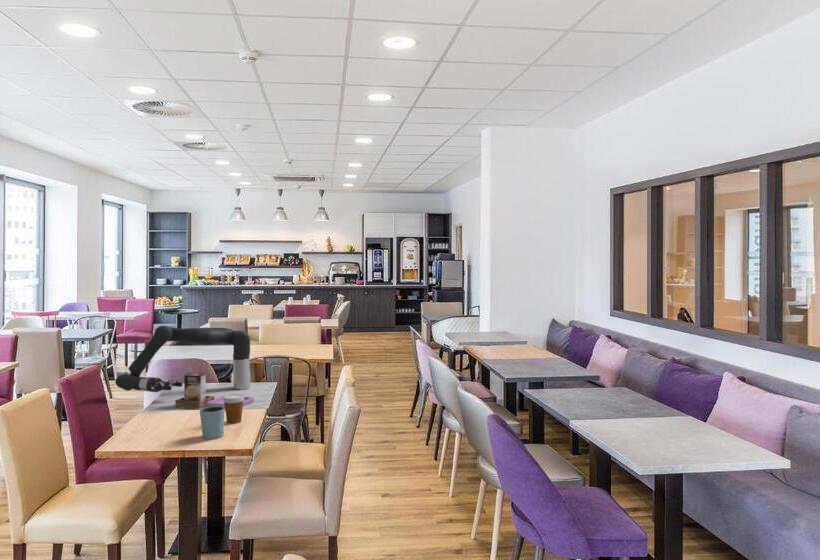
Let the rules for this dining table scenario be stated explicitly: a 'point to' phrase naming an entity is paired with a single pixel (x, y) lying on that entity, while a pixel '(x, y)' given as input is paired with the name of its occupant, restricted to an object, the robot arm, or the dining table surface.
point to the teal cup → (212, 422)
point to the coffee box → (194, 387)
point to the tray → (221, 403)
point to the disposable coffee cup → (233, 408)
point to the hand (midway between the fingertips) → (176, 386)
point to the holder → (193, 403)
